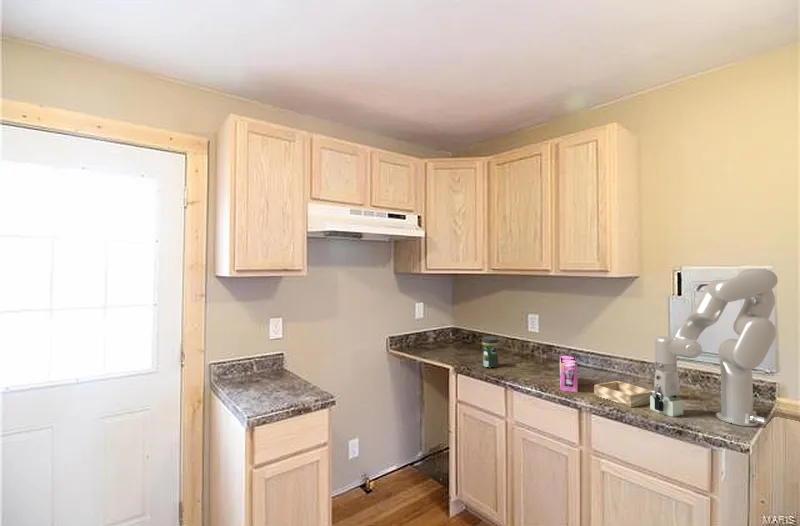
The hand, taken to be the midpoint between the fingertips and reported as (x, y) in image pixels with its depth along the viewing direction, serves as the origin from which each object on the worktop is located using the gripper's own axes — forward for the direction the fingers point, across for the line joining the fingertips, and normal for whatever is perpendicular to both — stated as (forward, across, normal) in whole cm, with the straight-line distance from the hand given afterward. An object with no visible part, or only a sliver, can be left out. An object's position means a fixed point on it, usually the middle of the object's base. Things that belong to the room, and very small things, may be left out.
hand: (666, 408), depth 162 cm
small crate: (+2, 0, 0) cm, 2 cm away
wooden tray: (+2, 0, +19) cm, 19 cm away
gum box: (+2, -6, +45) cm, 45 cm away
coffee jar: (+2, -18, +93) cm, 95 cm away
